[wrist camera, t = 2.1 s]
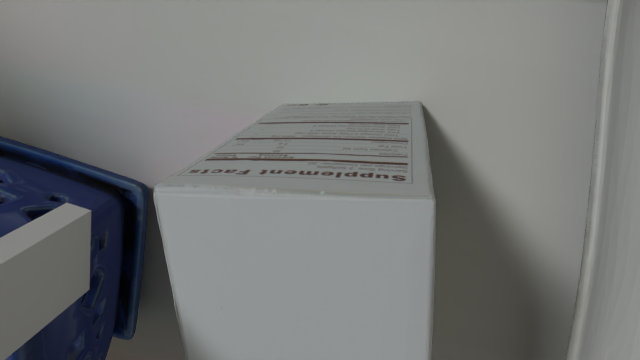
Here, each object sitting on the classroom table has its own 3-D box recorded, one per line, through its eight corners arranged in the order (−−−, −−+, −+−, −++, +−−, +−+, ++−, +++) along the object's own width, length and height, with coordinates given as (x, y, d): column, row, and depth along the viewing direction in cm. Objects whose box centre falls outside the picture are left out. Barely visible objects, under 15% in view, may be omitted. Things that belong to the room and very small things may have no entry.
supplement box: (420, 233, 24) (429, 444, 12) (288, 226, 25) (183, 409, 14) (426, 97, 21) (445, 198, 10) (279, 98, 23) (140, 187, 11)
